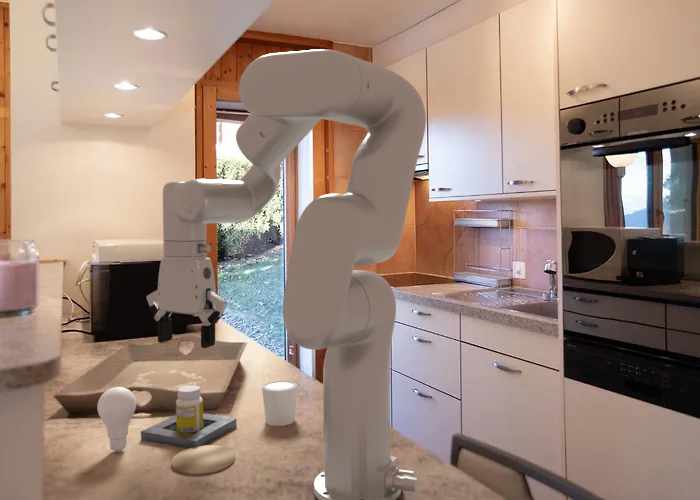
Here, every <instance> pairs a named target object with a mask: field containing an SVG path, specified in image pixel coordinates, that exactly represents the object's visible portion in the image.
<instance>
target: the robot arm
mask: <svg viewBox="0 0 700 500" xmlns="http://www.w3.org/2000/svg"><path fill="white" fill-rule="evenodd" d="M238 84H239V87H238V97H239V100H240V102H241V104H242V106H243V108H244V109H245V110H246V111H247V112H249V115H248V116H247V118H246V119H245V120H244V121H243V122H242V124H241V125H240V126H239V127H238V128H237V130H236V134H235V140H236V143H237V147H238V149H239V151H240V152H241V153H242V155H243V156H244V157H245V158H246V159H247V160H248V161H249V162H250V163H251V164H252V165H251V167H250V168H249V169H248V171H247V172H246V173H245V174H244V175H243V176H242V177H241V178H240V179H239V180H232V179H231V180H229V179H210V178H208V179H206V178H195V179H190V180H187V181H169V182H166V183H165V184H164V185H163V188H162V227H163V228H162V229H163V230H162V231H163V232H162V233H163V242H162V243H163V257H161V260H160V264H159V271H158V277H157V279H158V281H157V289H156V290H155V291H152V292H151V293H149V294H147V295H146V300H147V303H148V305H149V310H150V312H151V313H152V315H153V316H154V317H153V318H154V320H155V321H156V322H157V342H158V343H159V344H162V343H166V342H169V341H171V340H173V320H172V318H170V317H171V315H172V314H174V313H175V314H184V315H197V316H198V318H199V319H200V321H201V323H202V324H203V325H200V347H201V348H202V349H207V348H210V347H212V346H213V347H214V346H215V344H216V324H218V323H219V321H220V320H221V318H222V317H223V316H224V312H225V311H226V308H227V306H228V301H227V300H226V299H224V298H223V297H222V296H220V295H219V294H217V292H216V291H217V290H216V289H217V288H216V281H215V280H216V279H215V271H214V266H213V263H212V259H211V257H207V256H208V253H210V252H211V249H212V246H211V245H210V244H207V243H208V242H207V224H218V223H219V224H222V223H223V224H224V223H225V224H226V223H227V224H230V223H231V224H232V223H233V224H237V223H238V224H239V223H244V222H247V221H249V220H251V219H252V218H255V216H256V215H257V214H259V213H260V212H261V211H262V210H263V209H264V208H265V207H266V206H267V204H269V202H271V200H272V199H273V197H274V196H275V195H276V192H277V190H278V187H279V183H280V179H281V171H282V170H281V165H282V163H283V162H284V161H285V159H286V158H287V157H288V156H290V154H291V153H292V152H293V151H294V149H295V148H296V147H298V145H299V144H300V143H301V142H302V140H304V138H305V137H306V136H308V135H309V133H310V132H311V131H312V130H313V129H314V128H315V127H316V125H317V124H318V123H319V122H320V121H321V120H326V121H331V122H337V123H341V124H347V125H352V126H357V127H361V128H364V129H365V130H366V131H367V134H366V135H365V138H364V139H363V140H362V142H361V143H360V145H359V146H358V148H357V150H356V152H355V154H354V156H353V159H352V162H351V168H350V174H349V175H350V176H349V180H348V183H347V184H348V185H347V188H346V191H345V193H328V194H324V195H320V196H319V197H317V198H315V199H314V200H312V201H311V202H310V203H309V204H308V205H307V206H306V207H305V208H304V209H303V210H302V213H301V214H300V216H299V219H298V221H297V224H296V226H295V231H294V236H293V239H292V245H291V251H290V256H289V257H290V258H289V261H288V262H289V263H288V269H287V276H286V281H285V286H284V292H283V293H284V294H283V301H282V318H283V324H284V328H285V329H286V332H287V334H288V336H289V338H290V339H291V340H292V341H293V342H294V343H295V345H296V344H297V345H298V346H299V347H302V348H304V349H307V350H313V351H314V350H316V351H317V350H323V349H326V352H325V357H324V360H323V370H322V372H323V373H322V375H323V376H322V382H323V383H322V390H323V391H322V394H323V396H322V398H323V399H322V400H323V402H322V405H323V471H322V472H321V473H319V474H318V475H317V476H316V477H315V479H314V481H313V494H314V496H315V497H316V498H317V499H318V500H397V499H398V498H399V497H400V495H401V493H402V491H404V492H409V493H415V494H417V492H418V491H419V487H420V479H419V477H416V471H414V470H410V469H400V466H398V465H397V462H398V460H397V458H398V457H397V456H395V455H394V456H393V455H391V396H390V395H391V392H390V391H391V389H390V387H391V385H390V384H391V353H392V352H391V350H392V340H393V335H394V329H395V322H396V315H397V302H396V297H395V294H394V291H393V288H392V286H391V285H390V283H389V282H388V281H387V280H386V279H385V277H383V276H381V274H378V273H376V272H373V271H370V270H364V269H362V270H361V269H360V270H358V269H357V270H355V269H354V268H355V267H361V266H369V265H370V266H371V265H375V264H380V263H383V262H386V261H387V260H389V259H391V258H392V257H393V256H394V255H395V254H396V252H397V250H398V249H399V247H400V244H401V240H402V236H403V232H404V226H405V221H406V217H407V212H408V207H409V201H410V197H411V192H412V187H413V182H414V175H415V171H416V166H417V162H418V161H419V160H418V159H419V156H420V152H421V148H422V144H423V141H424V136H425V131H426V124H427V123H426V122H427V121H426V120H427V118H426V111H425V109H426V108H425V105H424V102H423V99H422V97H421V95H420V93H419V92H418V90H417V89H416V88H415V86H414V85H413V84H412V83H410V82H409V81H408V80H407V79H406V78H404V77H403V76H401V75H400V74H399V73H396V72H395V71H393V70H391V69H388V68H386V67H384V66H381V65H379V64H376V63H373V62H371V61H367V60H364V59H362V58H358V57H356V56H354V55H350V54H347V53H345V52H341V51H338V50H333V49H324V48H323V49H321V48H320V49H309V50H299V51H287V52H286V51H285V52H277V53H276V52H274V53H268V54H265V55H262V56H259V57H258V58H256V59H255V60H253V61H252V62H250V63H249V64H248V66H247V67H245V69H244V71H243V72H242V75H241V77H240V81H239V83H238Z"/></svg>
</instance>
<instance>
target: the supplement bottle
mask: <svg viewBox="0 0 700 500" xmlns="http://www.w3.org/2000/svg"><path fill="white" fill-rule="evenodd" d="M203 413H204V401H203V397H201V386H199V385H183V386H181V387H178V389H177V399H176V401H175V415H176V420H177V430H176V431H179V432H185V433H191V434H194V433H196V432H198V431H200V430H202V429H203V428H205V427H204V424H203Z"/></svg>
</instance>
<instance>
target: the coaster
mask: <svg viewBox="0 0 700 500" xmlns="http://www.w3.org/2000/svg"><path fill="white" fill-rule="evenodd" d="M235 461H236V452H235V451H234V450H233V449H232V448H231V447H228V446H225V445H224V446H223V445H219V444H217V445H215V444H210V445H209V444H206V445H204V446H198V447H193V448H189V449H186V448H185V449H183V450H181V451H179V452H178V453H176V454H175V455H174V456H173V457H172V459H171V467H172V469H173V470H174V471H176V472H178V473H181V474H184V475H206V474H207V475H208V474H211V473H217V472H220V471H222V470H224V469H226V468H229V467H230V466H231V465H233V464H234V463H235Z"/></svg>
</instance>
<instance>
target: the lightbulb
mask: <svg viewBox="0 0 700 500" xmlns="http://www.w3.org/2000/svg"><path fill="white" fill-rule="evenodd" d="M96 407H97V409H96V410H97V413H98V416H99V417H100V419H101V420H102V422H103V423H104V425H105V428H106V431H107V437H108V439H109V445H110V446H109V447H110V449H111V451H114V452H115V453H120V452H122V451H123V450H124V449H126V447H127V436H128V433H129V425H130V422H131V419H132V418H133V416H134V413H135V411H136V409H137V408H136V407H137V398H136V396H135V395H134V393H133V392H132V391H131V390H130V389H129V388H126V387H124V386H123V387H122V386H115V387H111V388H108V389H107V390H105V392H103V394H101V396H100V397H99V399H98V401H97V406H96Z"/></svg>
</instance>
